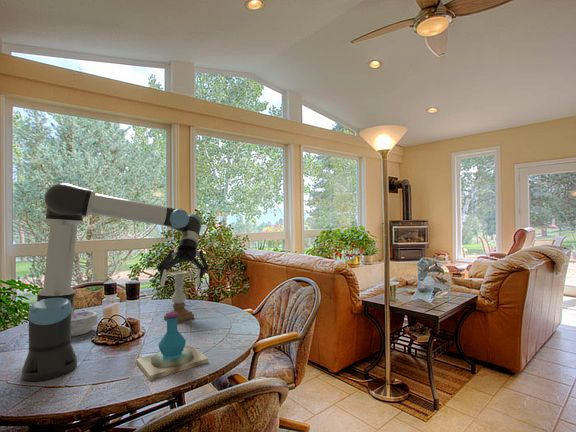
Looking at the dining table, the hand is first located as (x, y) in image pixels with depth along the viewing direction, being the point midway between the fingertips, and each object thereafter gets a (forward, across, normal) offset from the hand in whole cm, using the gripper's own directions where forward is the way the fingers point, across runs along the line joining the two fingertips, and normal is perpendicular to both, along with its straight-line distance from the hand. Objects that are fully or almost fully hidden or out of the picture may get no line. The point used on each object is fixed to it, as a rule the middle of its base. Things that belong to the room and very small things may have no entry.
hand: (179, 285), depth 126 cm
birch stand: (+26, 0, -10) cm, 28 cm away
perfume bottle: (+24, 0, -9) cm, 26 cm away
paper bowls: (+1, +52, -36) cm, 63 cm away
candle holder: (-11, +11, -48) cm, 50 cm away
